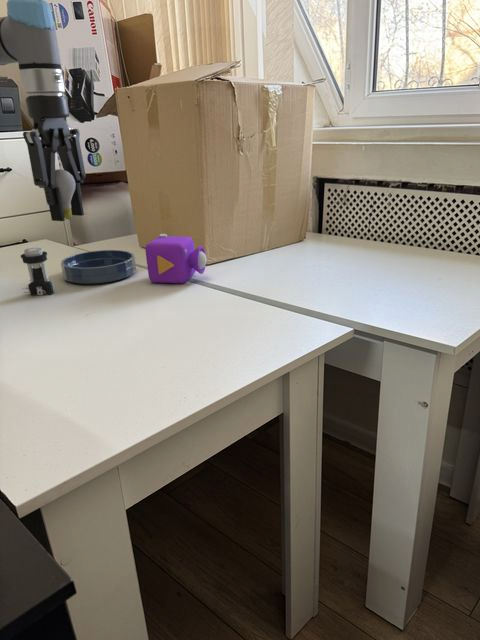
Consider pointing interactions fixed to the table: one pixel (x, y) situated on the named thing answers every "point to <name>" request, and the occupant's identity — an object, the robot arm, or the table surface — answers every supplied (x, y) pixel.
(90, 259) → the bowl
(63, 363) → the table surface
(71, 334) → the table surface
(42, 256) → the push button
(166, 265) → the toy camera
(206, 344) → the table surface
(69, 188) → the light bulb
